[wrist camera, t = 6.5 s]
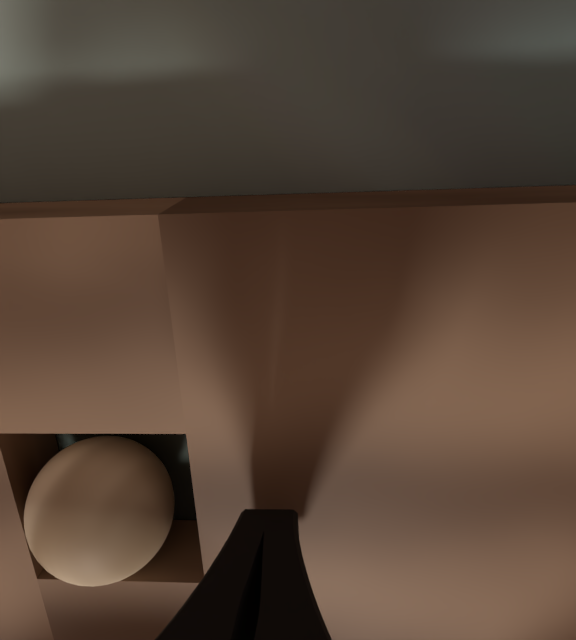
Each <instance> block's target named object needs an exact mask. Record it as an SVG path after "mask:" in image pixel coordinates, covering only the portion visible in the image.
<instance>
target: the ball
mask: <svg viewBox="0 0 576 640" xmlns="http://www.w3.org/2000/svg"><path fill="white" fill-rule="evenodd" d="M174 505H175V503H174V491H173V486H172V482H171V479H170V476H169V474H168V472H167V470H166V468H165V466H164V465H163V464H162V462H161V461H160V459H159V458H158V457H157V456H156V455H155V454H154V453H153V452H152V451H150V450H149V449H148V448H146V447H145V446H144V445H142V444H140V443H138V442H136V441H133V440H131V439H127V438H123V437H119V436H97V437H91V438H87V439H84V440H81V441H78V442H76V443H74V444H72V445H70V446H68V447H66V448H64V449H63V450H61V451H60V452H59V453H57V454H56V455H55V456H54V457H53V458H51V459H50V460H49V461H48V462H47V463H46V465H45V466H44V467H43V468H42V469H41V471H40V472H39V473H38V475H37V477H36V478H35V480H34V482H33V484H32V486H31V488H30V490H29V493H28V496H27V500H26V504H25V509H24V530H25V535H26V539H27V542H28V545H29V548H30V550H31V552H32V553H33V555H34V557H35V558H36V560H37V561H38V562H39V563H40V564H41V566H42V567H43V568H44V569H45V570H46V571H47V572H49V573H50V574H52V575H53V576H55V577H56V578H58V579H60V580H62V581H64V582H67V583H70V584H74V585H78V586H91V587H94V586H102V585H108V584H112V583H115V582H118V581H121V580H123V579H125V578H127V577H129V576H131V575H133V574H134V573H136V572H137V571H139V570H140V569H141V568H142V567H144V566H145V565H146V564H147V563H148V562H149V561H150V560H151V559H152V558H153V557H154V556H155V554H156V553H157V552H158V551H159V549H160V548H161V546H162V545H163V543H164V541H165V539H166V537H167V535H168V533H169V530H170V527H171V524H172V520H173V515H174Z"/></svg>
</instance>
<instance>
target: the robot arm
mask: <svg viewBox="0 0 576 640" xmlns="http://www.w3.org/2000/svg"><path fill="white" fill-rule="evenodd" d="M155 640H332V639H331V636H330V634H329V632H328V630H327V627H326V625H325V622H324V620H323V618H322V615H321V612H320V610H319V607H318V604H317V602H316V599H315V596H314V593H313V590H312V587H311V584H310V581H309V578H308V574H307V571H306V567H305V564H304V560H303V556H302V551H301V546H300V541H299V525H298V513H297V512H296V511H295V510H293V509H245V510H244V511H242V512H241V514H240V516H239V518H238V520H237V522H236V524H235V526H234V528H233V530H232V532H231V533H230V535H229V537H228V539H227V540H226V542H225V544H224V546H223V547H222V549H221V551H220V552H219V554H218V555H217V557H216V558H215V560H214V562H213V563H212V565H211V566H210V568H209V569H208V571H207V573H206V574H205V575H204V577H203V578H202V580H201V581H200V583H199V584H198V585H197V587H196V588H195V590H194V591H193V592H192V594H191V595H190V596H189V598H188V599H187V601H186V602H185V603H184V605H183V606H182V607H181V608H180V610H179V611H178V612H177V614H176V615H175V616H174V617H173V618H172V620H171V621H170V622H169V623H168V625H167V626H166V627H165V628H164V629H163V630H162V632H161V633H160V634H159V635H158V636H157V637H156V638H155Z"/></svg>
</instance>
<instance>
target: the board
mask: <svg viewBox="0 0 576 640" xmlns="http://www.w3.org/2000/svg"><path fill="white" fill-rule="evenodd" d="M55 434H186V438H187V446H188V454H189V461H190V469H191V477H192V485H193V493H194V500H195V508H196V516H197V520H172V524H171V527H170V530H169V533H168V535H167V537H166V539H165V541H164V543H163V545H162V546H161V548H160V549H159V551H158V552H157V553H156V554H155V556H154V557H153V558H152V559H151V560H150V561H149V562H148V563H147V564H146V565H145V566H144V567H142V568H141V569H140V570H139V571H137V572H136V573H134V574H133V575H131V576H129V577H127V578H125V579H123V580H121V581H118V582H115V583H112V584H108V585H102V586H94V587H91V586H78V585H74V584H70V583H67V582H64V581H62V580H60V579H58V578H56V577H55V576H53V575H52V574H50V573H49V572H47V571H46V570H45V569H44V568H43V567H42V566H41V564H40V563H39V562H38V561H37V560H36V558H35V557H34V555H33V553H32V552H31V550H30V548H29V545H28V542H27V539H26V535H25V530H24V509H25V504H26V500H27V496H28V493H29V490H30V488H31V486H32V484H33V482H34V480H35V478H36V477H37V475H38V473H39V472H40V471H41V469H42V468H43V467H44V466H45V465H46V463H47V462H48V461H49V460H50V459H51V458H53V457H54V456H55V455H56V454H57V453H59V450H58V445H57V441H56V437H55ZM245 509H293V510H295V511H296V512H297V513H298V525H299V541H300V546H301V551H302V556H303V560H304V564H305V567H306V571H307V574H308V578H309V581H310V584H311V587H312V590H313V593H314V596H315V599H316V602H317V604H318V607H319V610H320V612H321V615H322V618H323V620H324V622H325V625H326V627H327V630H328V632H329V634H330V636H331V639H332V640H576V185H564V186H532V187H500V188H468V189H436V190H404V191H372V192H340V193H308V194H276V195H244V196H212V197H180V198H149V199H117V200H85V201H53V202H21V203H0V640H155V638H156V637H157V636H158V635H159V634H160V633H161V632H162V630H163V629H164V628H165V627H166V626H167V625H168V623H169V622H170V621H171V620H172V618H173V617H174V616H175V615H176V614H177V612H178V611H179V610H180V608H181V607H182V606H183V605H184V603H185V602H186V601H187V599H188V598H189V596H190V595H191V594H192V592H193V591H194V590H195V588H196V587H197V585H198V584H199V583H200V581H201V580H202V578H203V577H204V575H205V574H206V573H207V571H208V569H209V568H210V566H211V565H212V563H213V562H214V560H215V558H216V557H217V555H218V554H219V552H220V551H221V549H222V547H223V546H224V544H225V542H226V540H227V539H228V537H229V535H230V533H231V532H232V530H233V528H234V526H235V524H236V522H237V520H238V518H239V516H240V514H241V512H242V511H244V510H245Z"/></svg>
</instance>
